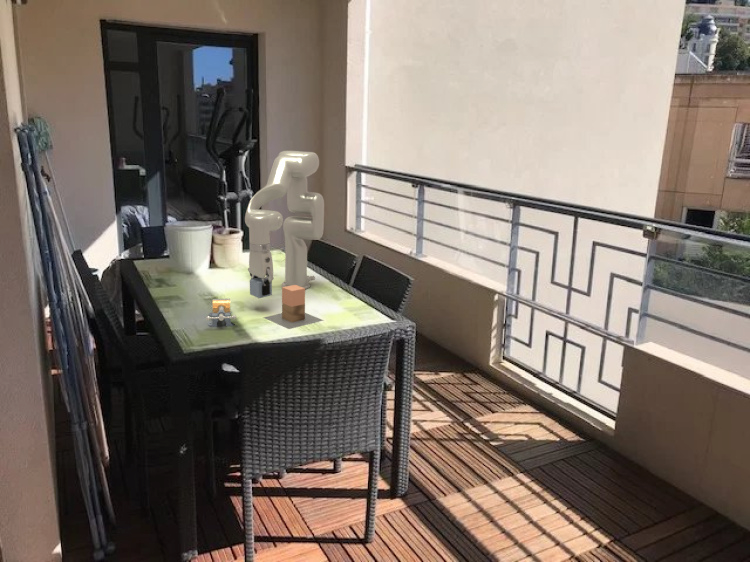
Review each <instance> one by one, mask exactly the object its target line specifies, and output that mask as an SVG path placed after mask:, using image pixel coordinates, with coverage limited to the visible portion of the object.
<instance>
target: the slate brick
mask: <svg viewBox="0 0 750 562" xmlns="http://www.w3.org/2000/svg"><path fill="white" fill-rule="evenodd" d="M266 280H267V278H266V279H265V281H266ZM262 285H263V283H262V278H260V277H259V278H254V279H251V278H250V279H249V295H250V296H253V297H255V298H257V299H261V298H265V297H271V296H272V295H273V281H272V282H271V284H270V294H269V295H265V296H263V295H262Z"/></svg>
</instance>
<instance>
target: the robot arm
mask: <svg viewBox="0 0 750 562" xmlns="http://www.w3.org/2000/svg"><path fill="white" fill-rule="evenodd" d="M319 166H320V158H319V156H318V154H317V153H315V152H314V151H301V150H299V151H298V150H283V151H280V152H279V153H278V155H277V156H276V157H275V158H274V161H273V164H272V167H271V170H270V172H269V175H268V178H267V182H266V184H265V186H264V187H262V188H261V189H259V190H258V191H257V192H256V193H255V194H254V195H253V196H252V197H251V199H250V200H249V202H248V206H247V208H246V212H245V216H244V222H245V225H246V227H248V232H249V236H248V237H249V254H248V255H249V256H248V257H249V258H248V269H247V272H248V273H249V276H250V279H254V278H259V277H260V278H262V283H263V285H262V295H263V296H265V295H269V294H270V284H271V282H272V283H273V280H274V279H275V278H274V264H273V262H274V261H273V256H272V252H271V238H270V237H271V232H276V231H278V230H279V229H281V227H282V226H283V227H282V228H283V229H282V230H283V235H284V243H285V245H284V246H285V248H284V249H285V253H284V254H285V257H284V258H285V259H284V260H285V264H284V265H285V267H284V269H285V271H284V281H283V282H281V287H286V286H292V285H297V286H300V287H303V288H305V290H307V289H309V288H310V287H311V283H310V282H311V281H314V280H315V279H316V276H315V275H308V247H307V245H306V242H305V241H304V240H315V241H317V240H320V239H322V238H323V235H324V230H325V229H324V227H325V200H324V197H323V195H322V194H321V193H319V192H314V191H313V192H311V191H308V177H309V176H311V175H314V174H315V173H316V172H317V171H318V169H319ZM284 196H287V197H286V198H287V199H286V202H287V209H288V211H289V212H290V213H294V214H299V215H301V214H303V215H310V216H311V217H308V216H297V215H296V216H295V215H291V216H288V217H286V218H285V219H284V218H283V217H284V216H283V215H282V213H280V212H279V211H277V210H268V209H260V208H261V207H262V206H263V205H265V204H267V203H268V202H271V201H275V200H277V199H280V198H283V197H284ZM266 278H267V280H266V281H265V279H266Z"/></svg>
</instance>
